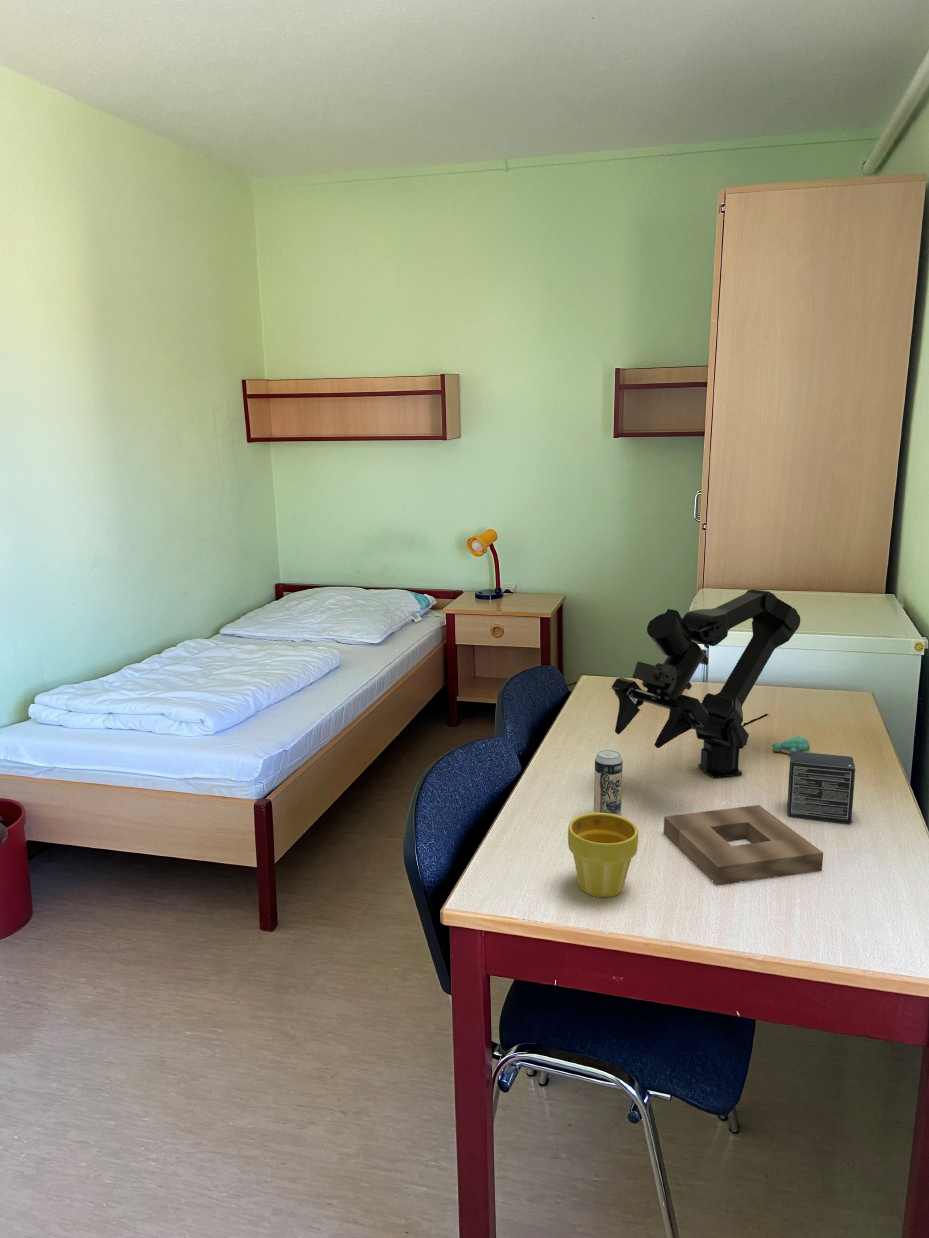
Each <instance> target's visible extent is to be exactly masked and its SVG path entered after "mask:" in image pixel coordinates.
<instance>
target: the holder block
mask: <svg viewBox="0 0 929 1238" xmlns="http://www.w3.org/2000/svg"><path fill="white" fill-rule="evenodd" d="M663 834H664V835H666V837H668V839H670V840H671V842H672V843H673V844H675V846H677V847H678V849H679V850H680V851H682V852H683V853H684V854H685V855H686V857H688V858H689V859H690V860H691V861H692V862H693V863H694V864H695V865H696V866H697V867H698V868H699V869H700V870H701V871H702V872H703V873H704V874H705V875H706V876H707V877H708V878H709V879H710V880H711V881H712V880H713V881H712V882H713V883H714V882H715V883H714V885H716V886H721V885H728V883H729V884H734V883H735V882H736V883H741V882H740V881H743V882H746V881H745V880H750V881H756V880H755V879H757V880H762V878H764V879H769V878H768V877H771V878H776V877H775V876H778V877H784V876H791V875H792V876H793V875H798V874H799V875H800V874H804V873H805V874H806V873H813V872H821V871H823V860H824V851H822V850H820V849H819V848H818V847H817V846H815V845H814V844H812V843H811V842H810V841H809V840H807V839H806V838H805V837H803V836H801V835H800V834H799V833H797V832H796V831H795V830H794V829H792V828H791V827H789V825H787V824H786V823H784V822H783V821H781V820H780V819H779V818H777V817H776V816H775V815H774V814H772V813H771V812H770V811H768V809H765V808H764V807H762V806H761V805H760V804H756V805H755V804H754V805H747V806H738V807H730V808H723V809H714V810H707V811H698V812H689V813H682V814H673V815H665V816H664V818H663ZM745 839H747V841H749V842H750V843H744V844H737V845H731V844H730V843H729V841H737V840H745Z"/></svg>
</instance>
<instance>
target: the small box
mask: <svg viewBox="0 0 929 1238" xmlns="http://www.w3.org/2000/svg"><path fill="white" fill-rule="evenodd" d="M789 756H790V757H789V758H790V759H789V771H788V790H787V804H786V808H787V809H786V811H787V816H788V817H789V818H796V819H805V820H811V821H812V820H813V821H814V820H815V821H822V822H831V823H839V824H847V825H851V824H853V805H854V791H855V779H856V769H857V768H856V765H855V762H854V757H853V756H849V755H838V754H827V753H818V752H817V753H815V752H809V753H807V752H797V751H791V754H790V755H789Z"/></svg>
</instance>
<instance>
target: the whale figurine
mask: <svg viewBox="0 0 929 1238" xmlns="http://www.w3.org/2000/svg"><path fill="white" fill-rule="evenodd" d="M810 747H811V746H810V743H809V741H808V740H807V739H806V738H805V737H803V736H799V735H797V736H794V737H792V738H791V737H790V738H787V739H786V740H784V741H782V742H774V743H773V744H772V749H773V751H774V752H781V753H783V752H784V753H783V754H785V753H788V754H787V755H789V754H791V751H797V752H807V753H810V751H811V748H810Z"/></svg>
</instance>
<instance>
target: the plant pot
mask: <svg viewBox="0 0 929 1238" xmlns="http://www.w3.org/2000/svg"><path fill="white" fill-rule="evenodd" d="M567 843H568V845H567V846H568V849H569V851H570V852H571V854H572V855H573V860H574V865H575V871H576V875H577V876H576V877H577V881H578V886H579V888H580V891H582V892H583V893H585V894H587V895H588V896H589V895H590V896H592V897H596V898H613V897H616V896H617V895H619V894H621V893H622V891H623V889H624V886H625V882H626V878H627V877H628V876H627V875H628V872H629V868H630V864H631V861H632V859H633V858H634V856H636V853H638V844H639V829H638V826H637V825H636V824H635V823H634V822H633V821H632V820H630V819H629V818H627V817H624V816H622V815H621V816H619V815H615V814H609V813H594V812H590V813H589V812H588V813H583V814H581V815H578V816H576V817H574V818H573V819H572V820H571V821H570V822H569V824H568V830H567Z"/></svg>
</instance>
